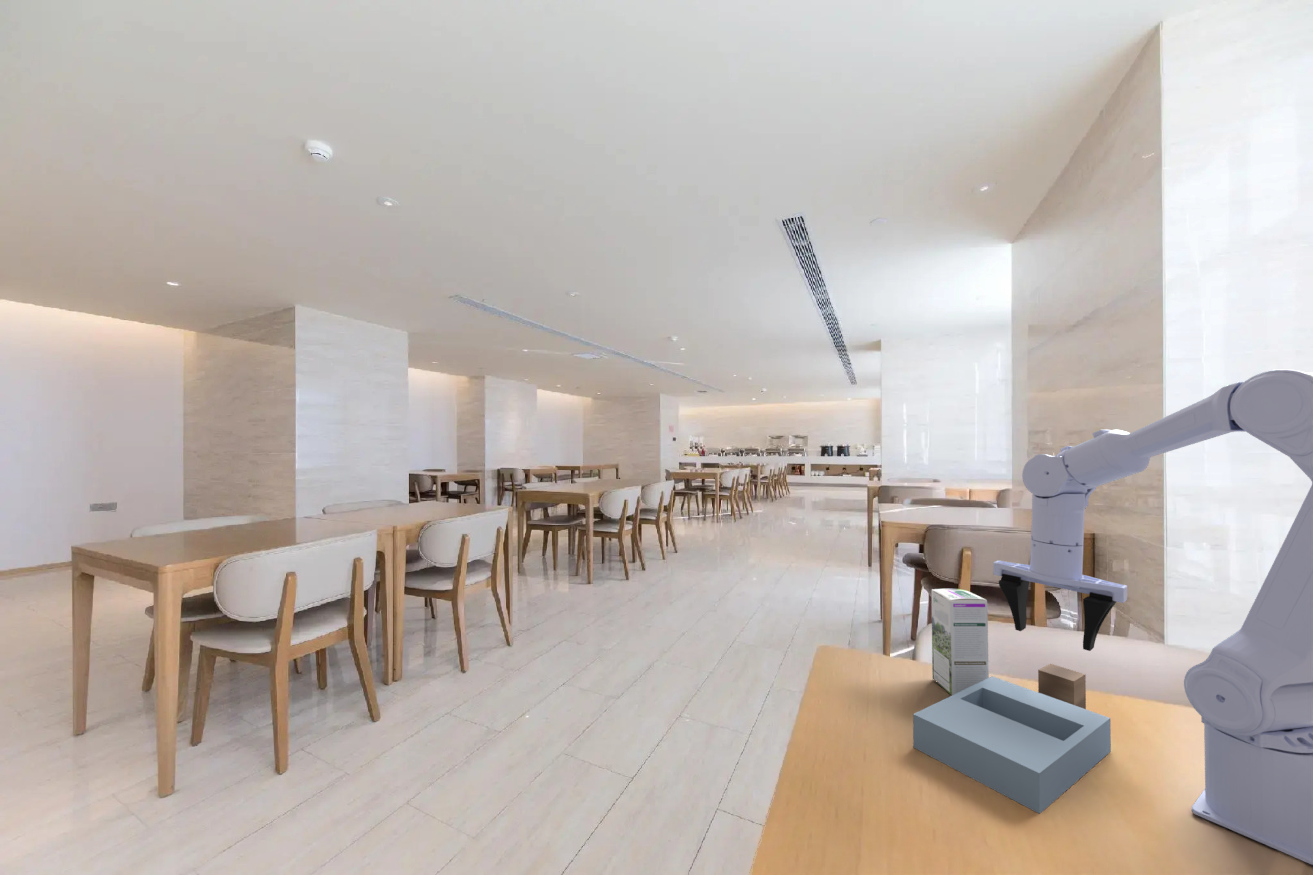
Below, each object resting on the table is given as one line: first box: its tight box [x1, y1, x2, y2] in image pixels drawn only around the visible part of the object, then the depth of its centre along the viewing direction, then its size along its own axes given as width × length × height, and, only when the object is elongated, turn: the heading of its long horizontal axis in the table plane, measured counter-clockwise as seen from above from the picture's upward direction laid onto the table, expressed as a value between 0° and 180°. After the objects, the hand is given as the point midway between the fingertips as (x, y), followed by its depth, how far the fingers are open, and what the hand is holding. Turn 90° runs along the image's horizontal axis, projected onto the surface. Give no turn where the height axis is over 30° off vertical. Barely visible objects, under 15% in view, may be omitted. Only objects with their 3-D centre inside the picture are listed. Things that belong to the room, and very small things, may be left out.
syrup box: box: [930, 588, 990, 696], centre depth 76 cm, size 6×6×14 cm
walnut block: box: [1037, 663, 1087, 710], centre depth 69 cm, size 4×4×6 cm
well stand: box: [912, 676, 1112, 814], centre depth 60 cm, size 13×20×4 cm, turn 122°
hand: (1053, 638), depth 69 cm, fingers open, 7 cm apart
